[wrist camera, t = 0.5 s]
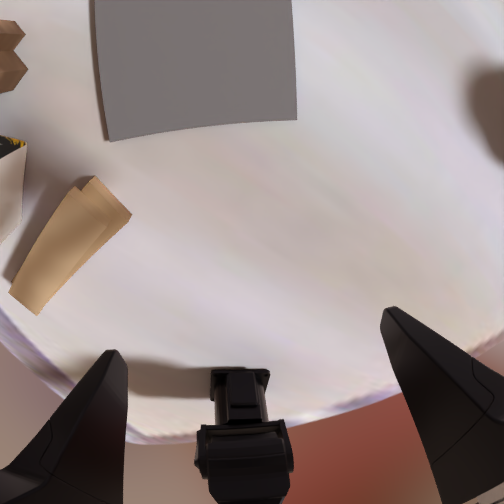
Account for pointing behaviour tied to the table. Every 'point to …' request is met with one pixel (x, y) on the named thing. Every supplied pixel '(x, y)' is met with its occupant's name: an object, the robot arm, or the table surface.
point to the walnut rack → (10, 56)
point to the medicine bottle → (11, 183)
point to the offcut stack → (68, 242)
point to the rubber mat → (194, 63)
